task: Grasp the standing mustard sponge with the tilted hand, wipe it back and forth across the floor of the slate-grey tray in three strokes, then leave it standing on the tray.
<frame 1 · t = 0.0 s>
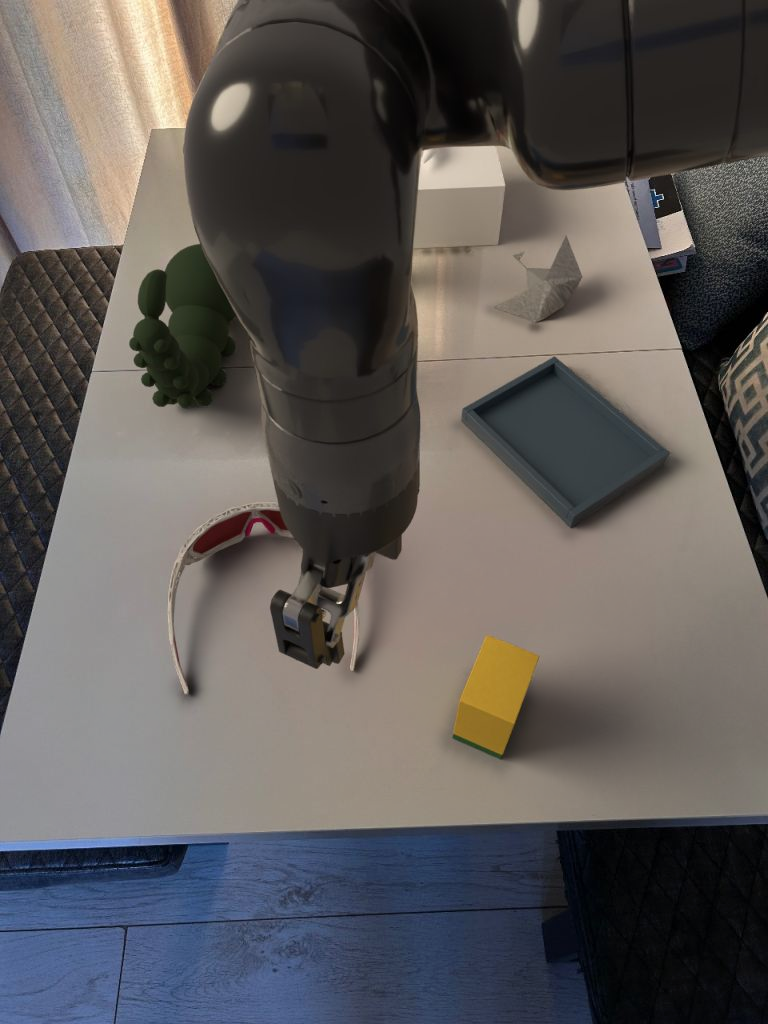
hand: (357, 600, 51), 19 cm above the table, tool pointing down, fingers open, 8 cm apart
tissue box: (401, 217, 107), on the table
toy figurine: (206, 360, 91), on the table
tube: (361, 288, 98), on the table
flower pot: (228, 195, 110), on the table
white round cup: (318, 377, 89), on the table
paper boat: (538, 299, 97), on the table
sponge: (488, 717, 66), on the table
sunglasses: (265, 603, 73), on the table
tray: (560, 442, 83), on the table
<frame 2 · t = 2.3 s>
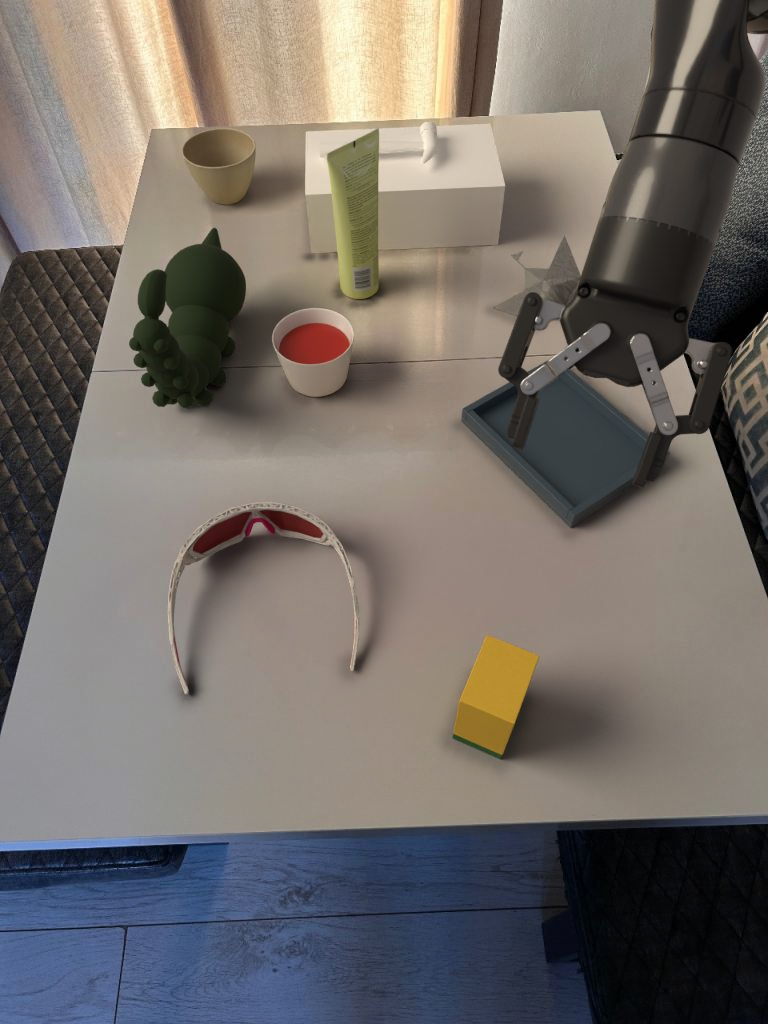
hand: (576, 466, 53), 22 cm above the table, tool tilted 45°, fingers open, 8 cm apart
nothing on the table moved.
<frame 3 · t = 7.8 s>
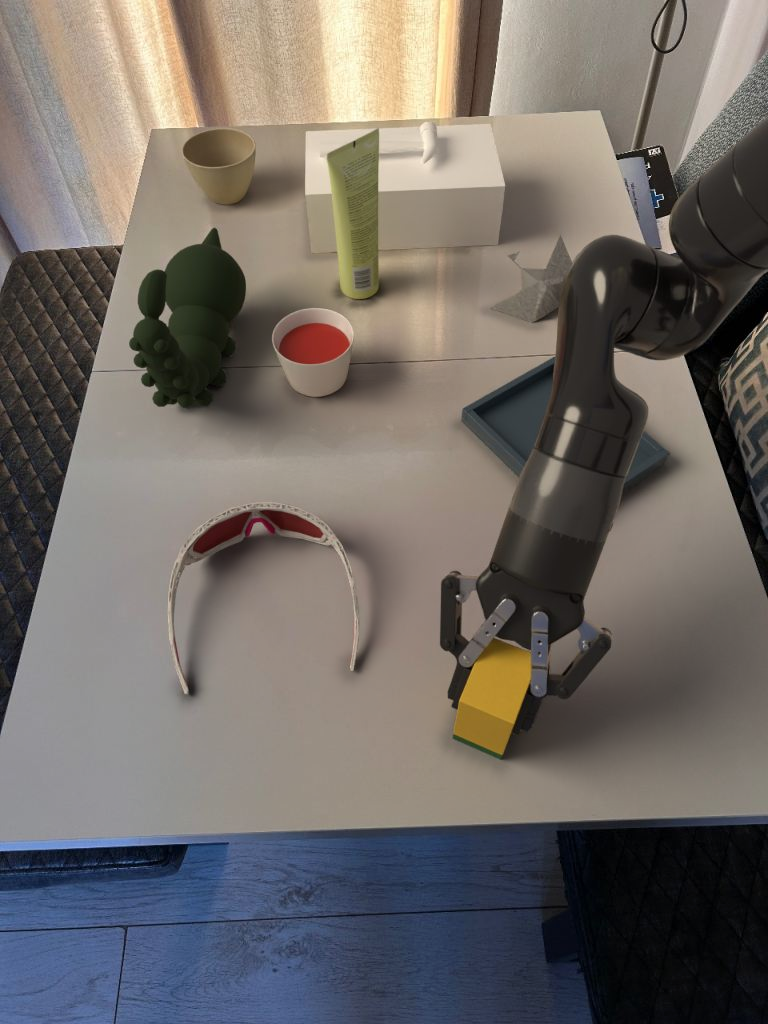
hand: (486, 717, 61), 5 cm above the table, tool tilted 45°, fingers closed on sponge, 4 cm apart
sponge: (488, 717, 66), on the table, touching gripper
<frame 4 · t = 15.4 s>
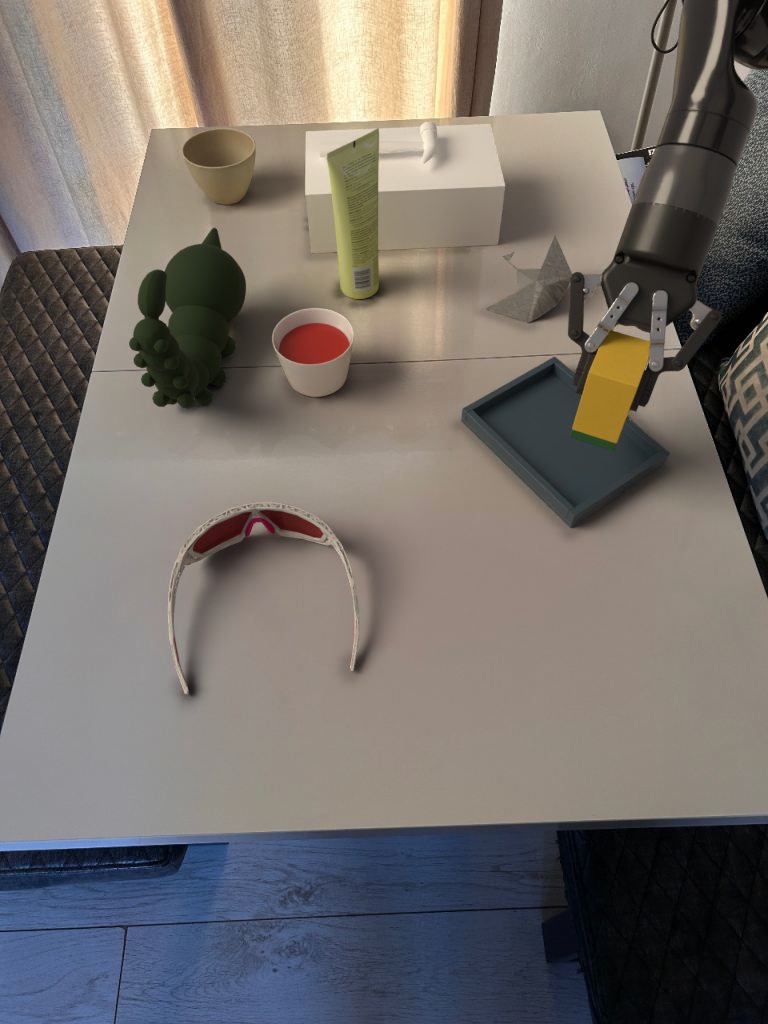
hand: (606, 401, 71), 12 cm above the table, tool tilted 45°, fingers closed on sponge, 4 cm apart
sponge: (599, 423, 76), point 7 cm above the table, touching gripper
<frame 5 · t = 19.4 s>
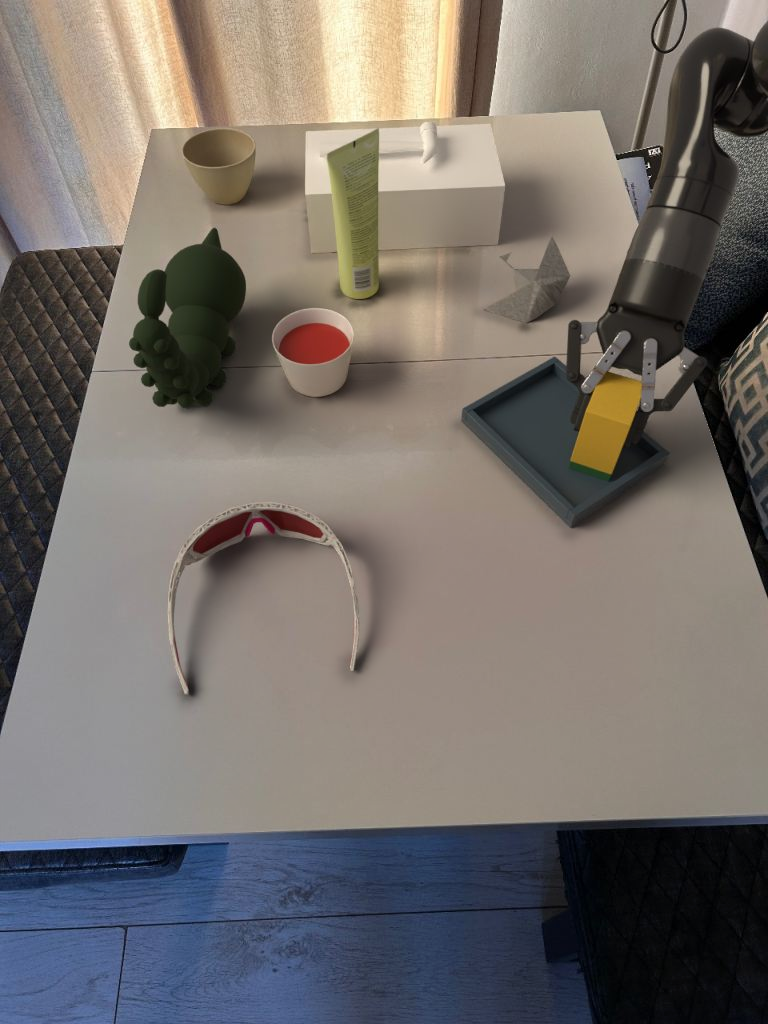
hand: (601, 438, 76), 5 cm above the table, tool tilted 45°, fingers closed on sponge, 4 cm apart
sponge: (596, 454, 81), point 1 cm above the table, touching gripper, tray
when the fingers open (5 cm above the table, at t = 22.9 s): sponge stays where it is, resting on tray.
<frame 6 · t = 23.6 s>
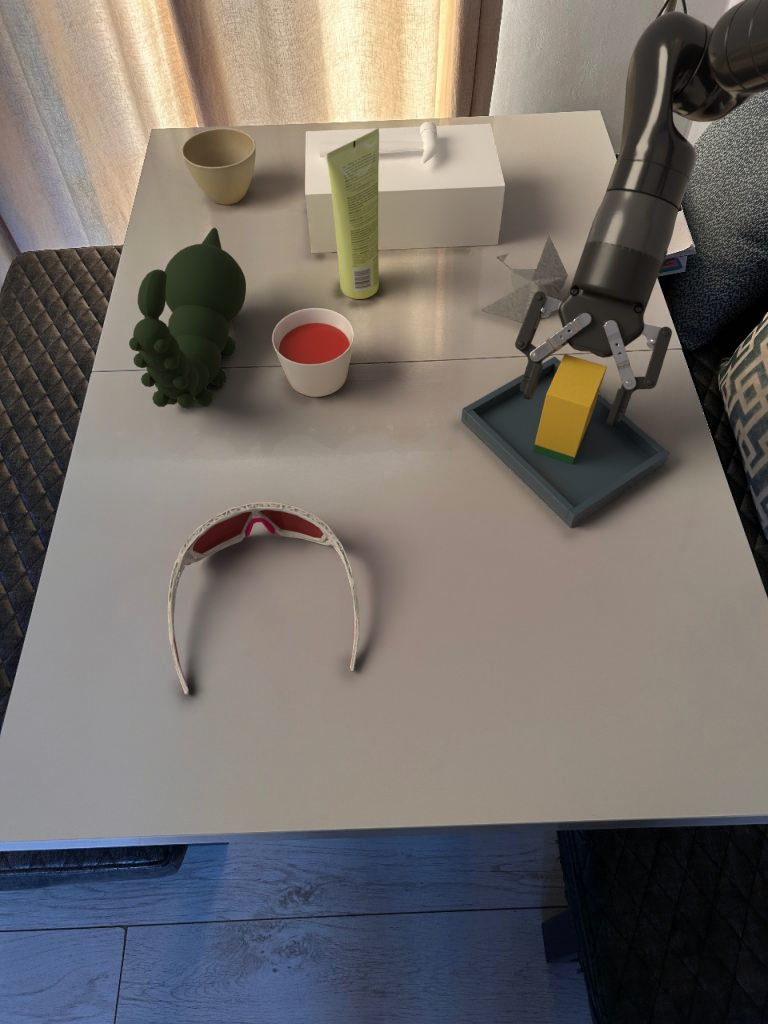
hand: (567, 412, 77), 6 cm above the table, tool tilted 45°, fingers open, 8 cm apart
sponge: (560, 438, 83), point 1 cm above the table, touching tray
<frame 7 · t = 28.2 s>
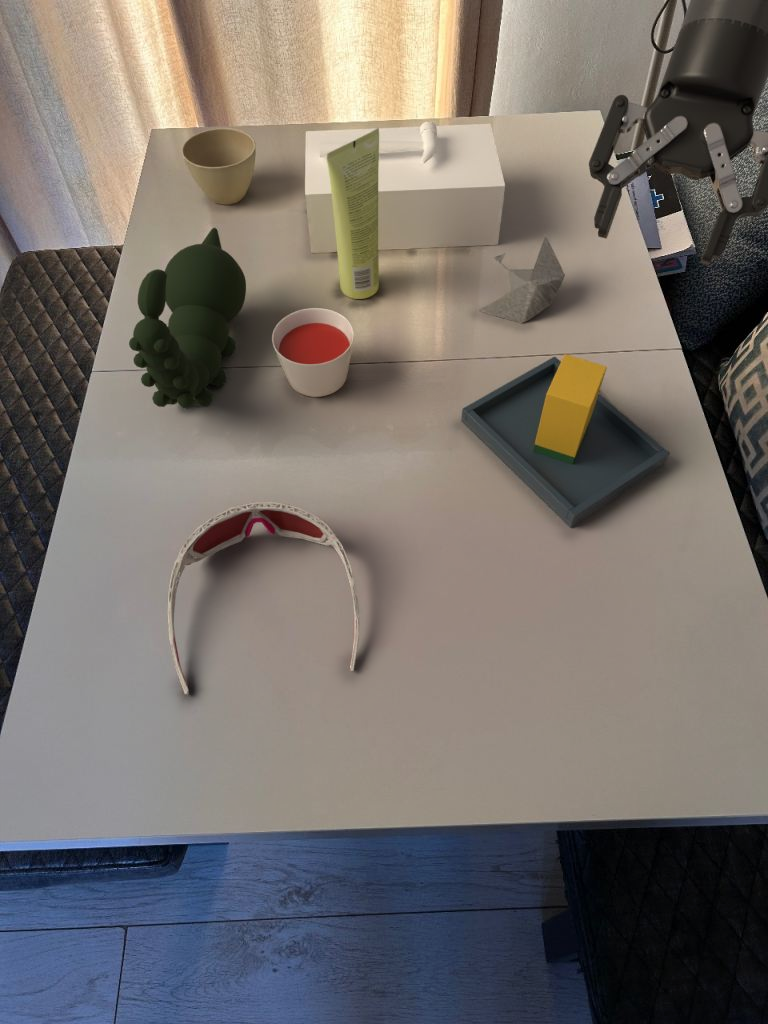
hand: (652, 249, 63), 25 cm above the table, tool tilted 45°, fingers open, 8 cm apart
at the end: sponge inside the target area in the tray (0.1 cm from its centre), point 0.6 cm above the tray's base; sponge tilted 0°; sponge moved 32.3 cm from its start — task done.
